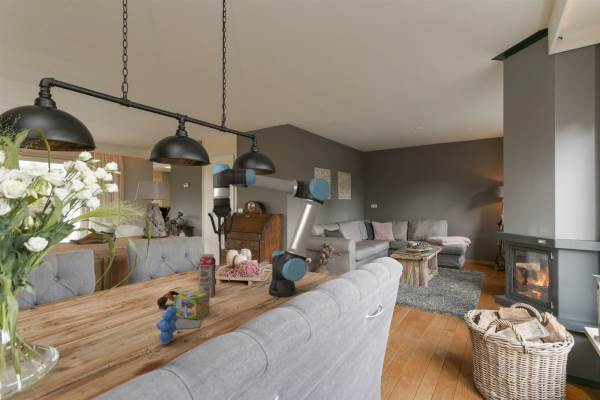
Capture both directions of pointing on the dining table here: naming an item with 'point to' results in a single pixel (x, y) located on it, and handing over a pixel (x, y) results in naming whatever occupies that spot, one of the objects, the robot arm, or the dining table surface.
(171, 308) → the grapes
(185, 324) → the mat
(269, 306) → the dining table surface
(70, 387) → the dining table surface
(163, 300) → the brown ring
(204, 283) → the juice carton
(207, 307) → the chalk box
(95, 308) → the dining table surface
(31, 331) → the dining table surface
